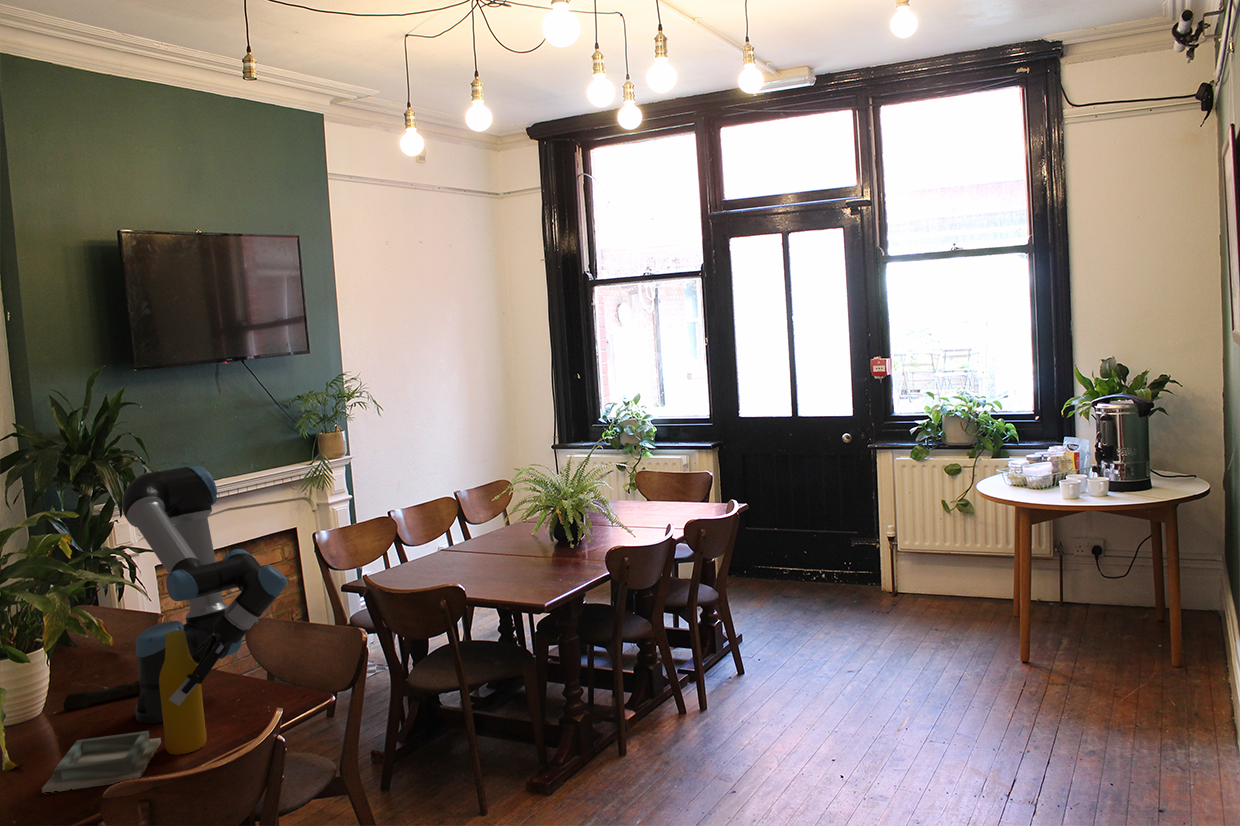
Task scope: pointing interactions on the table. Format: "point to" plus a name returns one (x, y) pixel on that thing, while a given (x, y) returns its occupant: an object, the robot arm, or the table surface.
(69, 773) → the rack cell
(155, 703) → the robot arm
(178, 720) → the beer bottle
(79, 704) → the hand tool
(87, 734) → the table surface
